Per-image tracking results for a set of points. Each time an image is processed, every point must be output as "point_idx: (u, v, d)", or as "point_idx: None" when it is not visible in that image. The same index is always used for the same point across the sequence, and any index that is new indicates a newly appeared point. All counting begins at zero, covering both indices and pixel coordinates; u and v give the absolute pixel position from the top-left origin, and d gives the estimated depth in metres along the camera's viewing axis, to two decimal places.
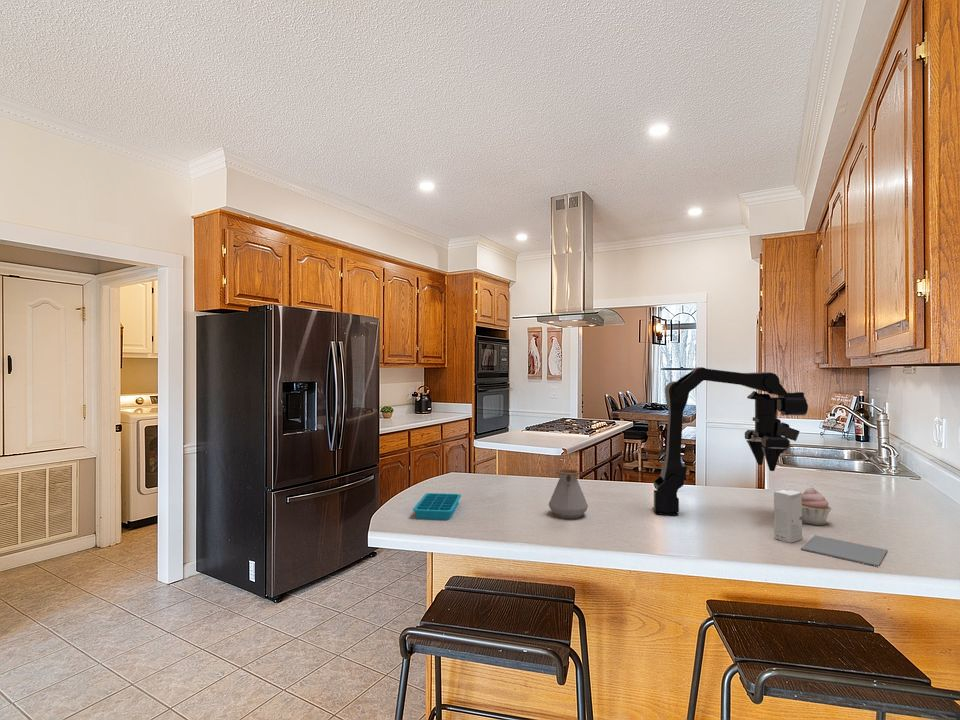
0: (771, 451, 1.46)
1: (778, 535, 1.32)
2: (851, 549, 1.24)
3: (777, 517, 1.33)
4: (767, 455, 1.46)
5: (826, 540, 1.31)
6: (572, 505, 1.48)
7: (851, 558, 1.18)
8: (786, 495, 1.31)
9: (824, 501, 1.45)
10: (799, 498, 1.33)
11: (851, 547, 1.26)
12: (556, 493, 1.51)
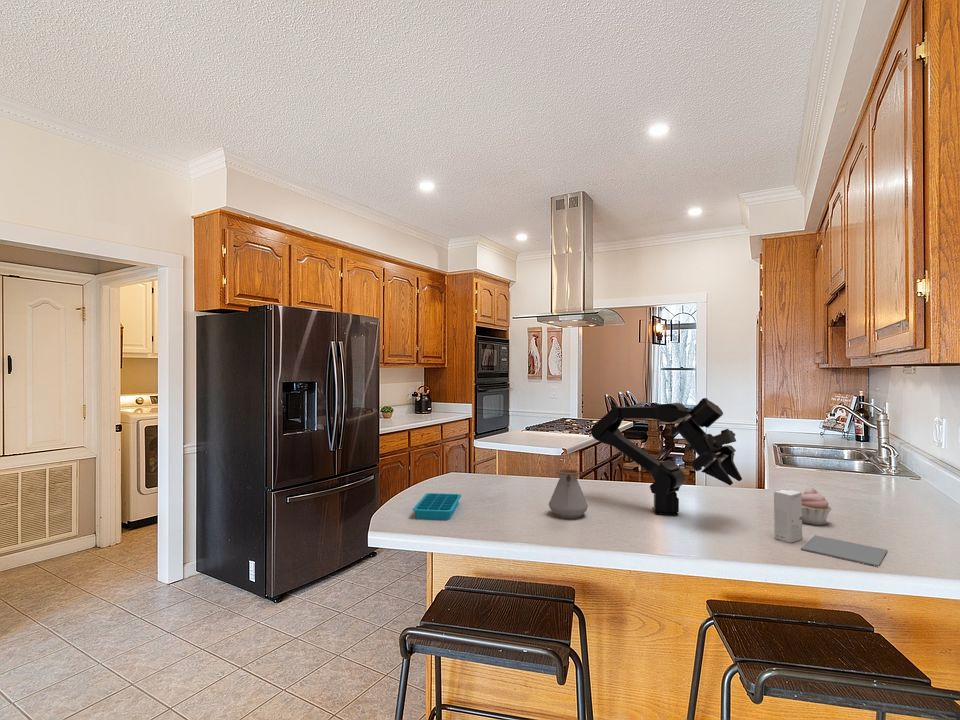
0: (713, 468, 1.42)
1: (778, 535, 1.32)
2: (851, 549, 1.24)
3: (777, 517, 1.33)
4: (712, 475, 1.42)
5: (826, 540, 1.31)
6: (572, 505, 1.48)
7: (851, 558, 1.18)
8: (786, 495, 1.31)
9: (824, 501, 1.45)
10: (799, 498, 1.33)
11: (851, 547, 1.26)
12: (556, 493, 1.51)
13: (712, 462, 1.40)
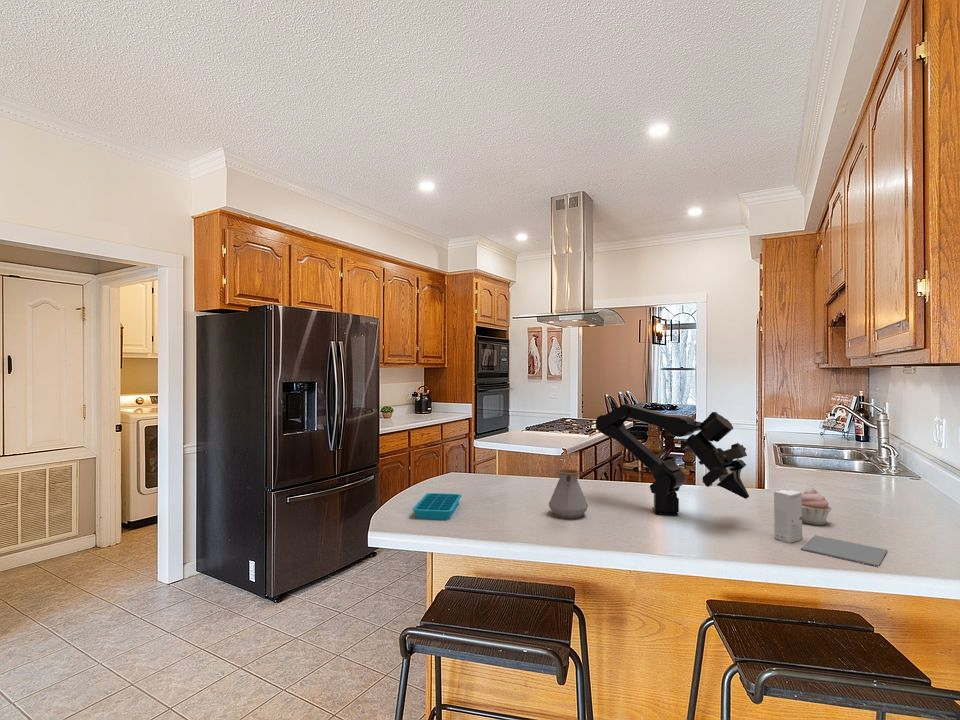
0: (728, 482, 1.42)
1: (778, 535, 1.32)
2: (851, 549, 1.24)
3: (777, 517, 1.33)
4: (727, 488, 1.42)
5: (826, 540, 1.31)
6: (572, 505, 1.48)
7: (851, 558, 1.18)
8: (786, 495, 1.31)
9: (824, 501, 1.45)
10: (799, 498, 1.33)
11: (851, 547, 1.26)
12: (556, 493, 1.51)
13: (727, 476, 1.40)
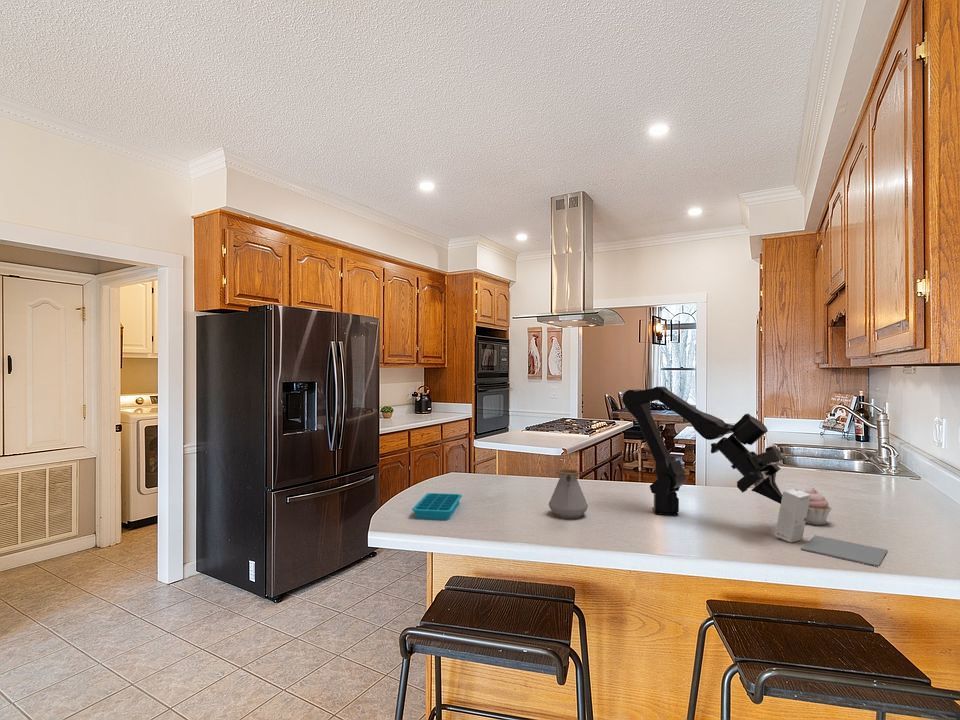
0: (763, 487, 1.36)
1: (779, 533, 1.32)
2: (851, 549, 1.24)
3: (781, 516, 1.32)
4: (763, 493, 1.36)
5: (826, 540, 1.31)
6: (572, 505, 1.48)
7: (851, 558, 1.18)
8: (795, 497, 1.29)
9: (824, 501, 1.45)
10: (807, 500, 1.31)
11: (851, 547, 1.26)
12: (556, 493, 1.51)
13: (763, 480, 1.34)
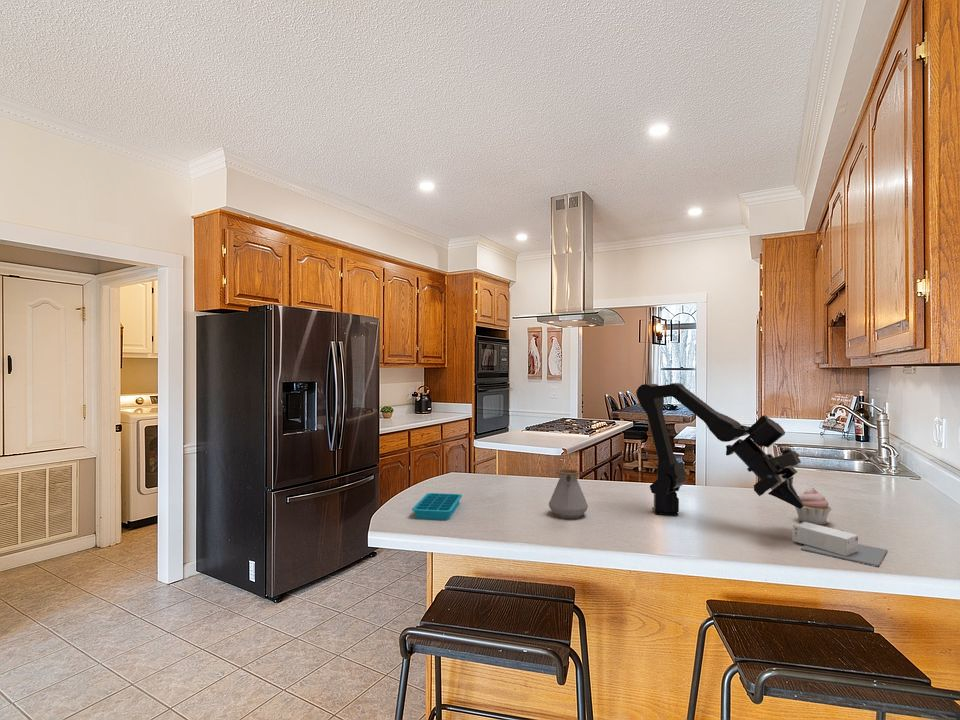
0: (780, 490, 1.33)
1: (796, 530, 1.29)
2: None
3: (816, 534, 1.25)
4: (780, 497, 1.33)
5: None
6: (572, 505, 1.48)
7: (851, 558, 1.18)
8: (844, 552, 1.20)
9: (824, 501, 1.45)
10: None
11: None
12: (556, 493, 1.51)
13: (780, 484, 1.31)
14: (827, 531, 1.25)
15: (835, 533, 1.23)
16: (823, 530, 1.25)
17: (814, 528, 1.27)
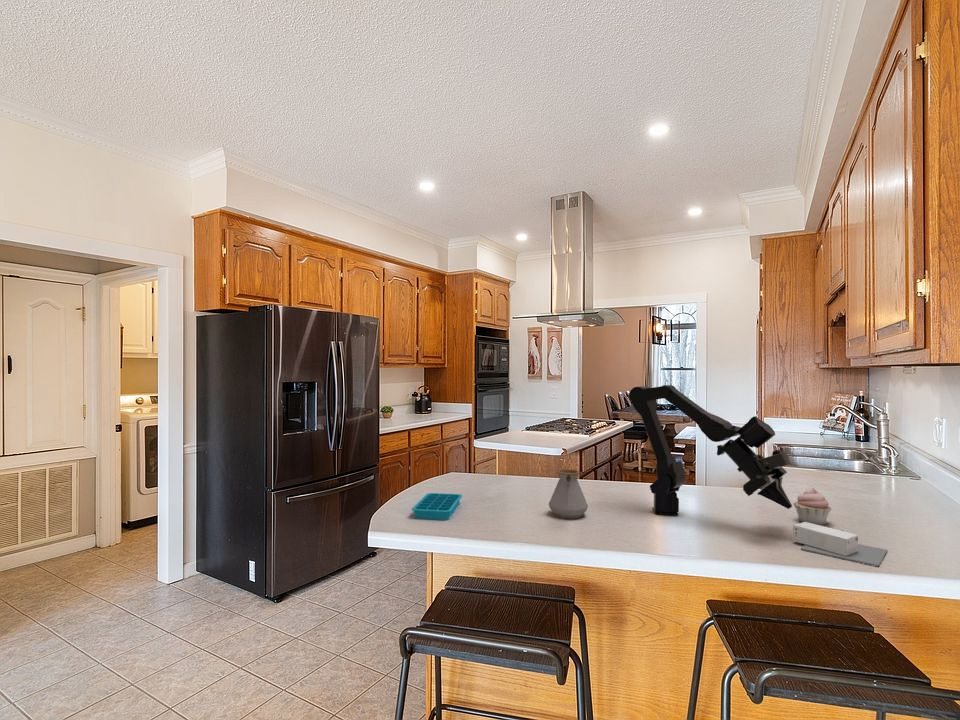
0: (769, 491, 1.35)
1: (796, 530, 1.29)
2: None
3: (816, 534, 1.25)
4: (769, 497, 1.35)
5: None
6: (572, 505, 1.48)
7: (851, 558, 1.18)
8: (844, 552, 1.20)
9: (824, 501, 1.45)
10: None
11: None
12: (556, 493, 1.51)
13: (769, 484, 1.33)
14: (827, 531, 1.25)
15: (835, 533, 1.23)
16: (823, 530, 1.25)
17: (814, 528, 1.27)
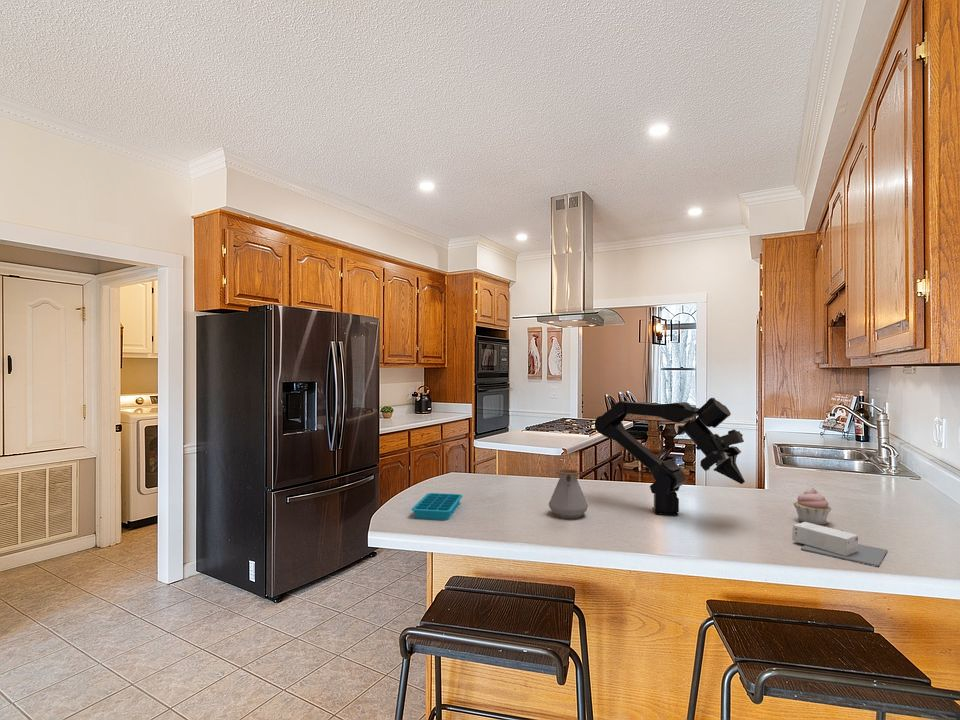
0: (725, 467, 1.43)
1: (796, 530, 1.29)
2: None
3: (816, 534, 1.25)
4: (724, 473, 1.43)
5: None
6: (572, 505, 1.48)
7: (851, 558, 1.18)
8: (844, 552, 1.20)
9: (824, 501, 1.45)
10: None
11: None
12: (556, 493, 1.51)
13: (725, 460, 1.41)
14: (827, 531, 1.25)
15: (835, 533, 1.23)
16: (823, 530, 1.25)
17: (814, 528, 1.27)
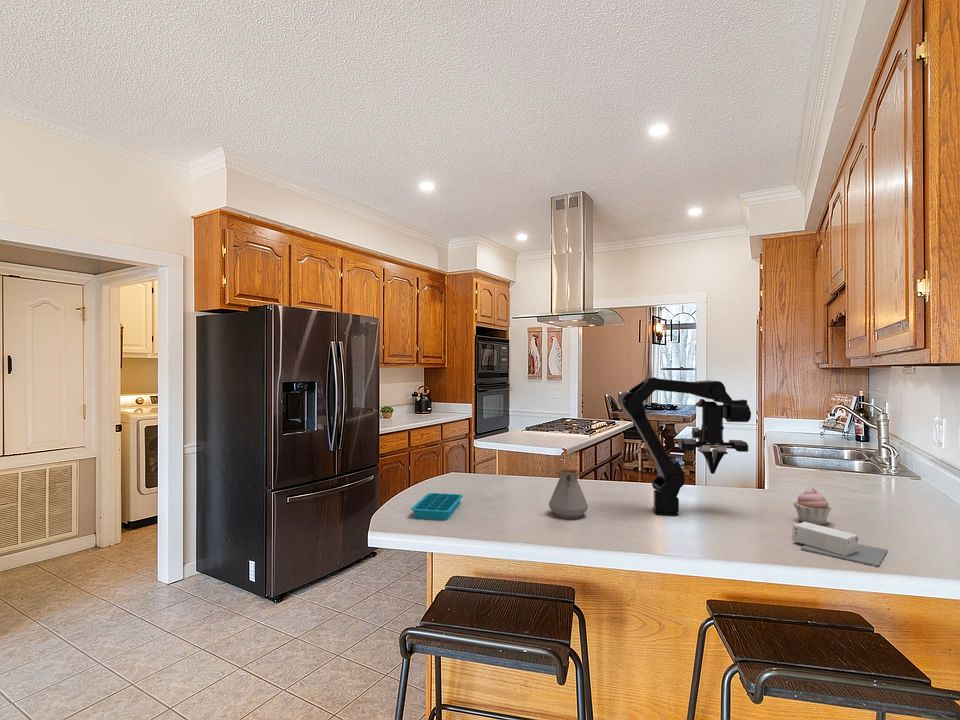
0: None
1: (796, 530, 1.29)
2: None
3: (816, 534, 1.25)
4: None
5: None
6: (572, 505, 1.48)
7: (851, 558, 1.18)
8: (844, 552, 1.20)
9: (824, 501, 1.45)
10: None
11: None
12: (556, 493, 1.51)
13: None
14: (827, 531, 1.25)
15: (835, 533, 1.23)
16: (823, 530, 1.25)
17: (814, 528, 1.27)
